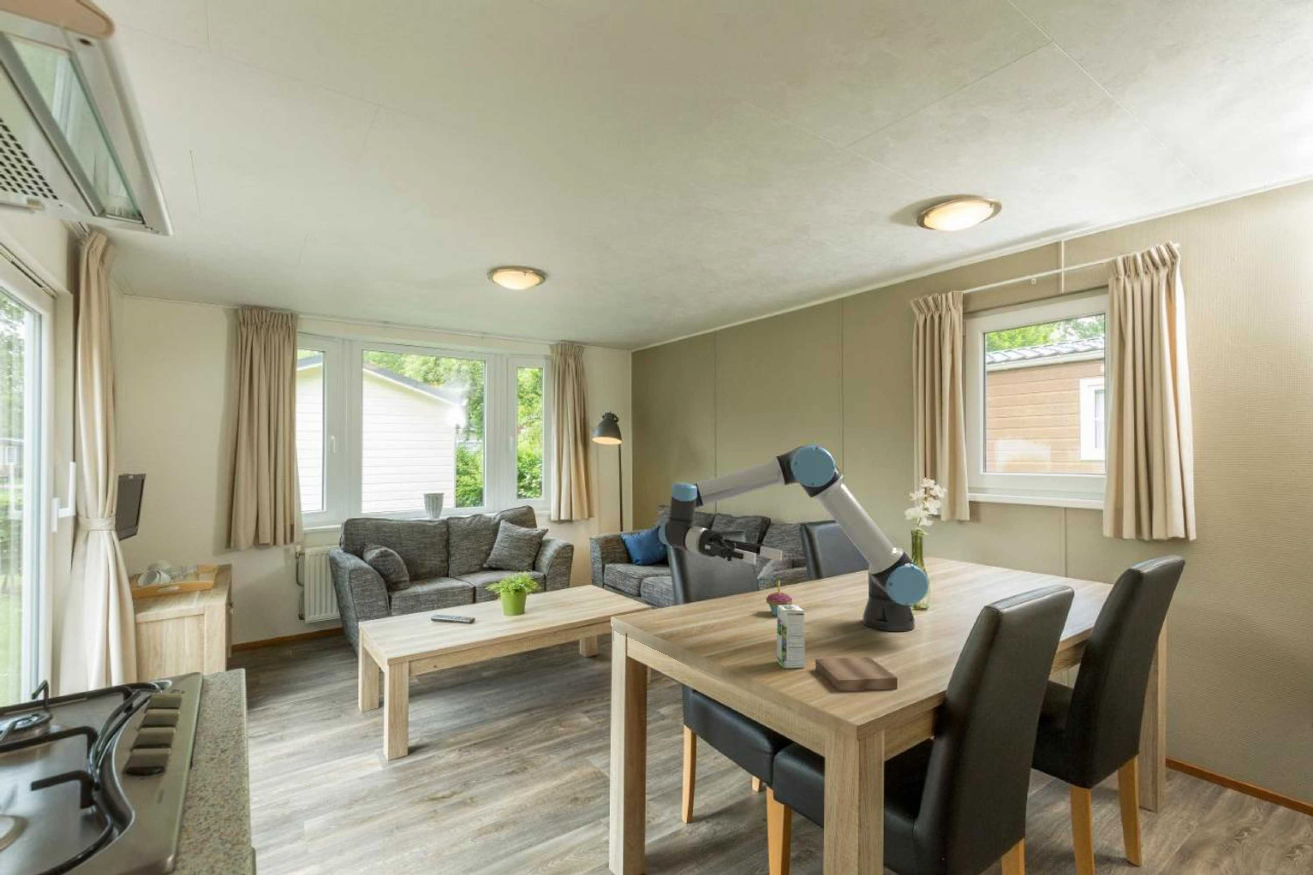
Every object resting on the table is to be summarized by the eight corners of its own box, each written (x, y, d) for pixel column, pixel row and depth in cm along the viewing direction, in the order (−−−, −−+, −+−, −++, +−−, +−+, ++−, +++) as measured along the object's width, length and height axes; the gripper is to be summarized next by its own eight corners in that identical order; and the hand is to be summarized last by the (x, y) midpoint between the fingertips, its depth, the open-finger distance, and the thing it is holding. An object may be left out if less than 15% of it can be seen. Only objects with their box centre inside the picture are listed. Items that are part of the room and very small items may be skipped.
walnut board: (868, 666, 152) (868, 656, 152) (897, 688, 138) (897, 677, 138) (815, 669, 151) (815, 659, 151) (838, 691, 137) (838, 680, 137)
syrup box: (776, 660, 157) (775, 604, 157) (798, 660, 157) (798, 604, 157) (782, 668, 151) (782, 610, 151) (805, 668, 151) (805, 610, 152)
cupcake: (792, 618, 196) (792, 581, 196) (765, 616, 198) (765, 580, 198) (791, 611, 204) (791, 575, 205) (766, 610, 206) (766, 574, 206)
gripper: (727, 552, 184) (789, 567, 170) (676, 557, 166) (741, 575, 152) (730, 527, 184) (792, 541, 170) (679, 530, 166) (744, 545, 152)
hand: (768, 557), depth 161 cm, fingers open, 13 cm apart
